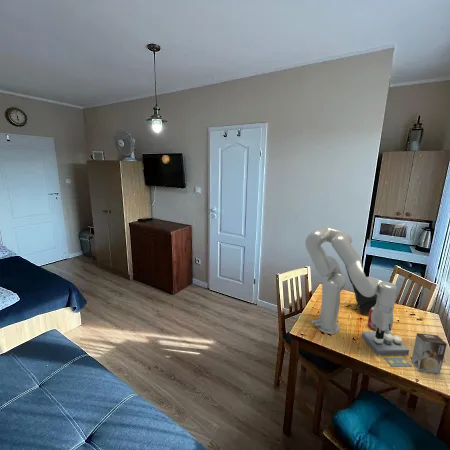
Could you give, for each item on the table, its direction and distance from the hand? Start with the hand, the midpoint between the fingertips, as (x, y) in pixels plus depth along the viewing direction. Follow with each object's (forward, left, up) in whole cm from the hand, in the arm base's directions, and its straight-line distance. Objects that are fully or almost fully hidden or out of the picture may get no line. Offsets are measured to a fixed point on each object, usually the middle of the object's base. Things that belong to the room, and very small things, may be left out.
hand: (379, 337), depth 127 cm
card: (+4, -10, -6) cm, 12 cm away
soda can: (+9, +17, -6) cm, 20 cm away
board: (+5, +2, -6) cm, 8 cm away
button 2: (+5, 0, -3) cm, 6 cm away
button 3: (+10, 0, -4) cm, 11 cm away
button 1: (0, 0, -4) cm, 4 cm away
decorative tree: (+11, +36, -6) cm, 38 cm away
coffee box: (+15, -13, -6) cm, 21 cm away
